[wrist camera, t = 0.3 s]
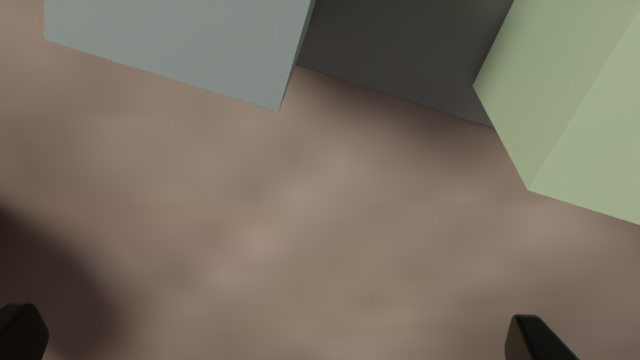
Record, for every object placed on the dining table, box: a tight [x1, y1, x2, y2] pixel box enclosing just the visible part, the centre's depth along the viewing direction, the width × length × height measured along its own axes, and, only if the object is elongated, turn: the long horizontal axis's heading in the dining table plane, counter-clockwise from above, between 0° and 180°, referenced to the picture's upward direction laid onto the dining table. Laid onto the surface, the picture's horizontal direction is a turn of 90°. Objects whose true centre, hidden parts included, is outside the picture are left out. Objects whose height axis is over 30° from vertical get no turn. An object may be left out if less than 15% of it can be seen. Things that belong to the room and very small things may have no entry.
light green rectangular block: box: [473, 0, 640, 225], centre depth 16 cm, size 6×6×8 cm
